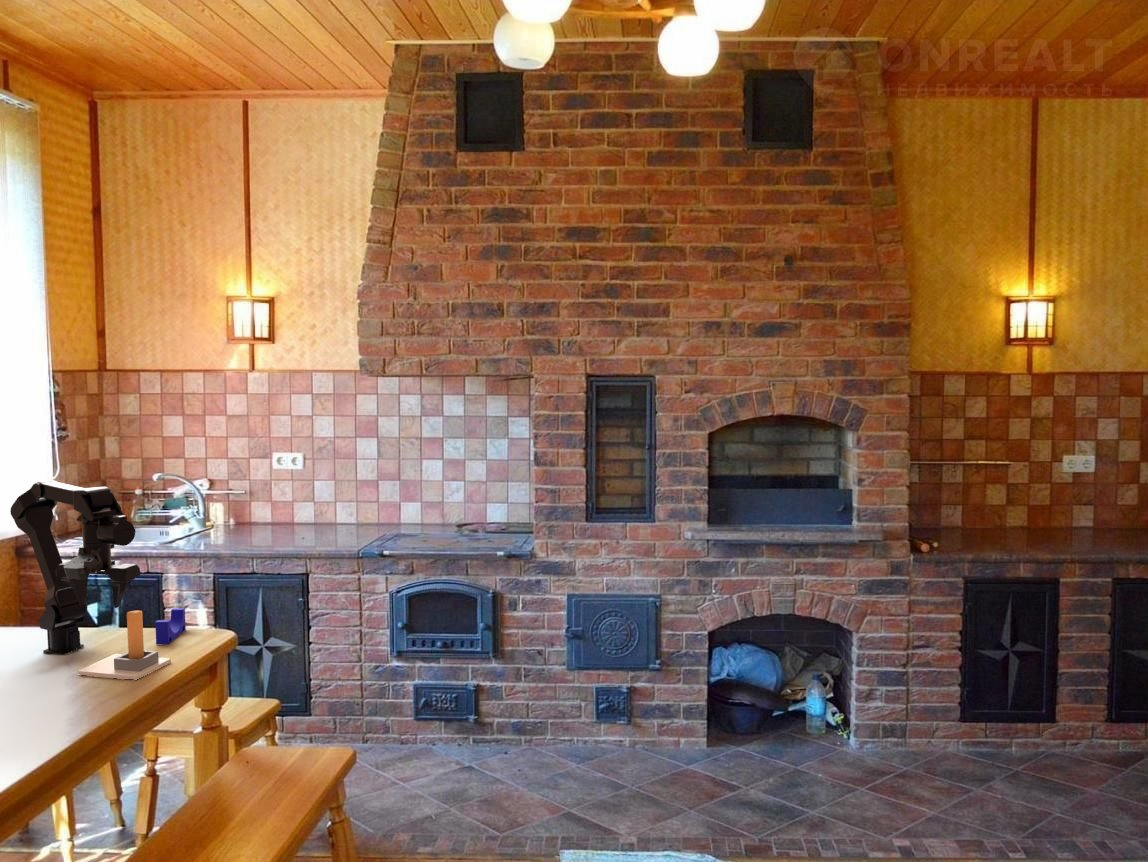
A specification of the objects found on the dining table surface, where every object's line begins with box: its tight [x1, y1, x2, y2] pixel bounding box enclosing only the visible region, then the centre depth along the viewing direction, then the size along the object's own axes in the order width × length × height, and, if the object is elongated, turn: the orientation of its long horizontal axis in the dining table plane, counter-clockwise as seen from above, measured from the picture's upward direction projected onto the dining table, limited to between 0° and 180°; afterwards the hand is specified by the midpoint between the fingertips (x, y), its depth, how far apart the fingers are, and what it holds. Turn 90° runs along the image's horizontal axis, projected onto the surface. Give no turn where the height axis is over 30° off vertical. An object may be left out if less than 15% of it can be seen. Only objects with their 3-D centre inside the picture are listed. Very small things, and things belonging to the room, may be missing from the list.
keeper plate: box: [77, 649, 172, 681], centre depth 214 cm, size 15×12×4 cm
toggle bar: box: [126, 610, 145, 659], centre depth 213 cm, size 3×3×12 cm
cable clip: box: [154, 607, 186, 646], centre depth 237 cm, size 12×4×6 cm, turn 3°
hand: (99, 606), depth 218 cm, fingers open, 9 cm apart
